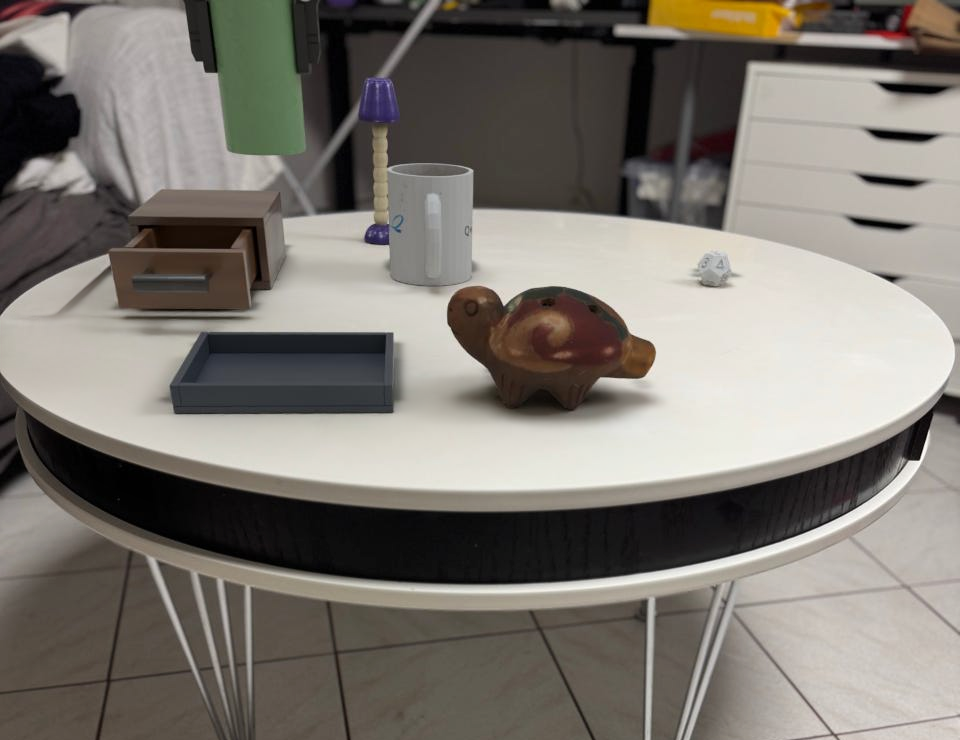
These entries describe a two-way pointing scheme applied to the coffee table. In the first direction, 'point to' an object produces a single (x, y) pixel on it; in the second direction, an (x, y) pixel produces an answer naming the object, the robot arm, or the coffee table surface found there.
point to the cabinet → (222, 219)
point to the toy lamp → (379, 148)
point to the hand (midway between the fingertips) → (258, 71)
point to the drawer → (187, 267)
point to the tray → (286, 373)
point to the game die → (714, 268)
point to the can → (258, 76)
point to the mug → (430, 223)
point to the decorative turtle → (546, 341)
